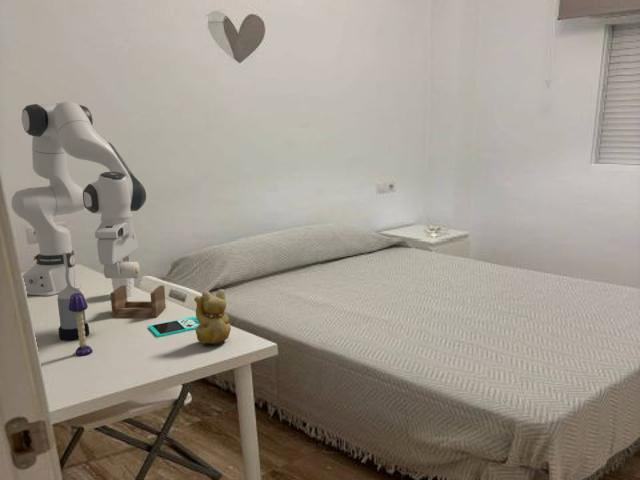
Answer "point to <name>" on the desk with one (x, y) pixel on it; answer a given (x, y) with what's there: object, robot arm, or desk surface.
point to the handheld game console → (174, 327)
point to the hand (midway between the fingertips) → (121, 272)
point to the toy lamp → (80, 322)
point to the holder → (137, 304)
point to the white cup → (124, 281)
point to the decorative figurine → (212, 318)
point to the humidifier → (68, 318)
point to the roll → (123, 270)
